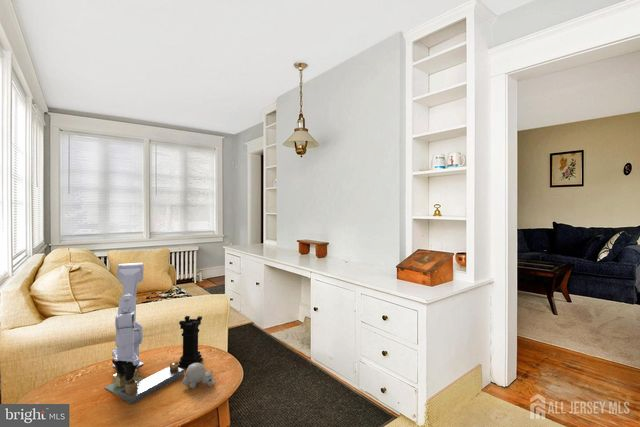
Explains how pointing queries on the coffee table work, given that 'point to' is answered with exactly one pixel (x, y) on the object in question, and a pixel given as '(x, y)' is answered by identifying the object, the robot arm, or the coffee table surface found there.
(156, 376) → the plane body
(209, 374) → the chubby cartoon animal
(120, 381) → the pale yellow block
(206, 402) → the coffee table surface
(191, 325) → the chess piece
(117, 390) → the rubber mat
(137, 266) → the robot arm
